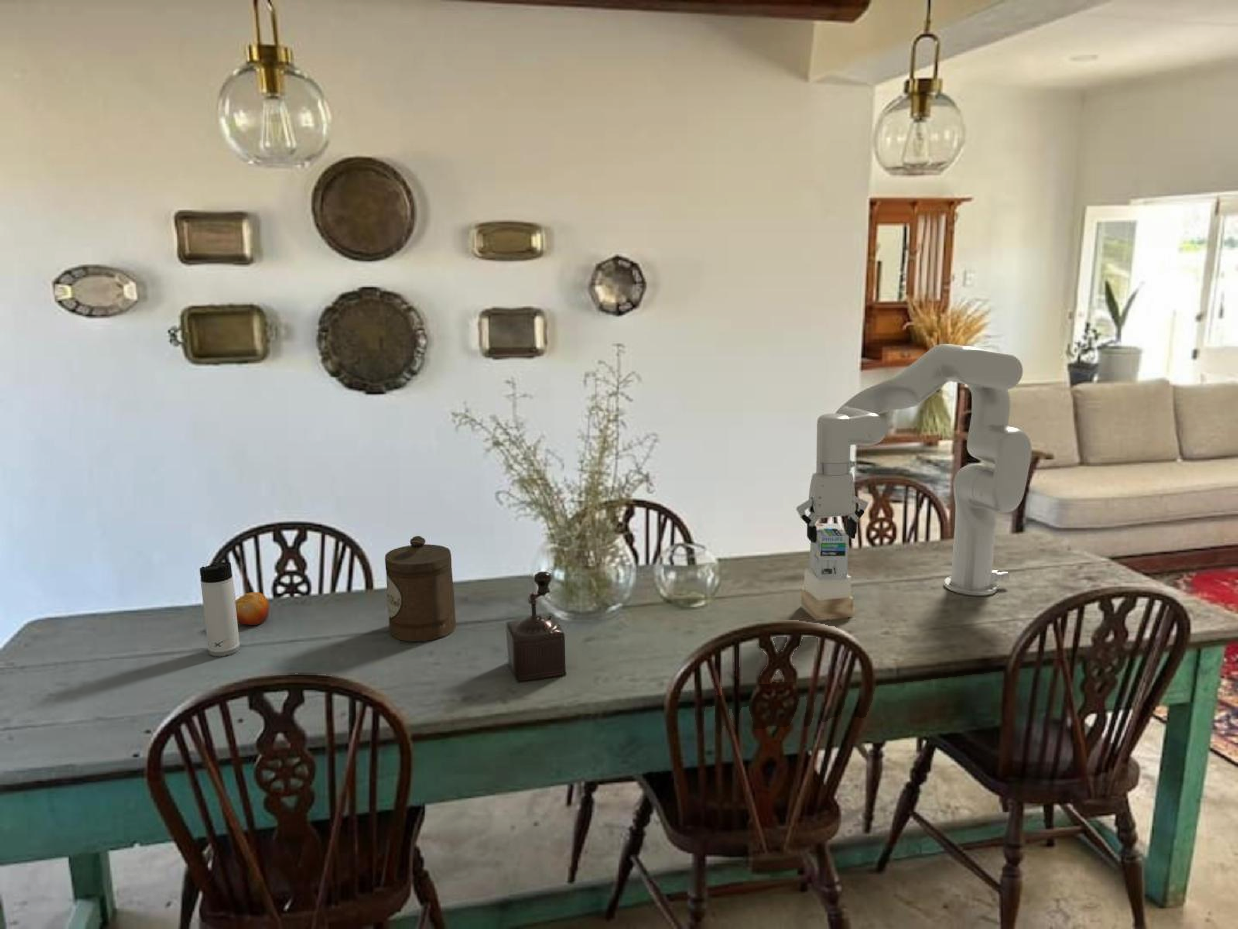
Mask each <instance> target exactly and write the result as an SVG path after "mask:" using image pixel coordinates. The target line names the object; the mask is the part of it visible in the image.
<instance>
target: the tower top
mask: <svg viewBox="0 0 1238 929" xmlns="http://www.w3.org/2000/svg"><path fill="white" fill-rule="evenodd" d="M803 574H804V579H803V588H804V589H805V590H806V591H807V592H808V593H810V594H811V595H812V596H813V597H815V598H816V599H817V600H819V601H820V600H830V599H840V598H850V596H851V594H852V593H851V590H852V576H850V575H849V574H847V580H819V579H818V577H817V576H816V574H815V573H814V571H813V570H812V568H811V567H810V568H804V573H803Z"/></svg>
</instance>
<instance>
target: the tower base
mask: <svg viewBox="0 0 1238 929" xmlns="http://www.w3.org/2000/svg"><path fill="white" fill-rule="evenodd" d="M800 598H801V599H800V600H801V601H800V607H801V608H802V610H804V611H805V612H806V613H807V614H808V615H809V616H810V617H812V618H813V619H814V620H815V621H816V622H817V621H828V620H827V619H829V620H837V619H848V617H850V618H853V615H854V614H853V610H854V598H853V597H852V596H851V595H850V598H840V599H830V600H820V601H819V600H817V599H816V598H815V597H813V596H812V595H811V594H810V593H808V592H807V591H806V590H805V589H804V587H802V588H801V597H800Z"/></svg>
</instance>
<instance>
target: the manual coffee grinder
mask: <svg viewBox="0 0 1238 929" xmlns="http://www.w3.org/2000/svg"><path fill="white" fill-rule="evenodd" d="M552 580H553V576H552V574H551V573H550V572H549V571H539V572H537V573H535V574H534V576H533V581H534V583H535V584H536V585H537V587H538V588H537V591H536V593H535V592H532V593H530V595H529V596H528V597H526V601H527V602H528V604H529V605H531V606H530V607H531V615H530V616H528V617H525V618H523V619H516V620H510V621H506V622H505V628H506V630H505V631H506V632H505V633H506V647H507V649H506V650H507V662H508V667H509V669H510V672H511V674H512V676H513V678H514V680H516V682H517V684H518V683H527V682H534V681H542V680H548V679H554V678H555V679H556V678H561V677H566V676H567V672H566V669H567V668H566V640H565V639H566V637H565V636H566V635H565V632H564V631H563V628H562V627H561V625H560V624H559V622H558V621H557V619H556V618H555V617H554V615H552V614H549V615H546V616H545V615H540V614H538V615H537V604H538V599H537V598H540V597H541V596H543V597H545V596H546V595H547V594H548V593H551V590H550V587H549V586H550V584H551V582H552Z"/></svg>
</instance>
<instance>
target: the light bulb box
mask: <svg viewBox="0 0 1238 929" xmlns="http://www.w3.org/2000/svg"><path fill="white" fill-rule="evenodd" d="M815 526H816V527H817V537H816V543H813V542H811V541H810V543H809V544H810V546H809V547H810V549H809V566H810V569H811V568H812V570H813V571H814V573H815V574H816V576H817V577H818V579H819V580H847V575H848V563H849V562H848V560H849V544H850V543H849V542H850V539H849V538H850V537H849V536H848V535H847V532H846V531H845V530H843V528H841V526H840V525H839V524H838V523H817V522H816V523H815Z"/></svg>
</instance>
